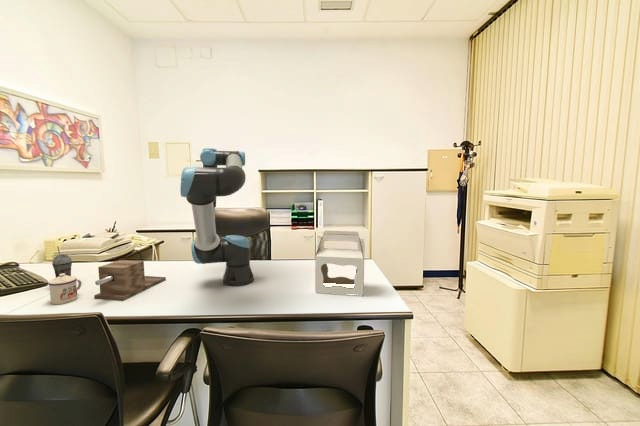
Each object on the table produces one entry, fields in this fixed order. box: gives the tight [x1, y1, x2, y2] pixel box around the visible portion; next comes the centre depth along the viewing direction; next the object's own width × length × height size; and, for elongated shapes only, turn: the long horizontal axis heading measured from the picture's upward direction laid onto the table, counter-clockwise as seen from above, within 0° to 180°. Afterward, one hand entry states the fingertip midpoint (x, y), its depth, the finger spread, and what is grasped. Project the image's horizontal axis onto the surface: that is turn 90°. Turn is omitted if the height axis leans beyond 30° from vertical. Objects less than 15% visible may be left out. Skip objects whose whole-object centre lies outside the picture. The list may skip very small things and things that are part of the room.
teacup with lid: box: [47, 273, 83, 305], centre depth 126 cm, size 12×9×12 cm
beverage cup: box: [52, 245, 73, 278], centre depth 141 cm, size 7×7×20 cm
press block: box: [93, 259, 167, 302], centre depth 138 cm, size 27×14×14 cm, turn 171°
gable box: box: [314, 230, 366, 296], centre depth 138 cm, size 22×13×28 cm, turn 80°
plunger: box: [95, 275, 114, 286], centre depth 131 cm, size 22×6×6 cm, turn 171°
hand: (212, 219), depth 164 cm, fingers closed
